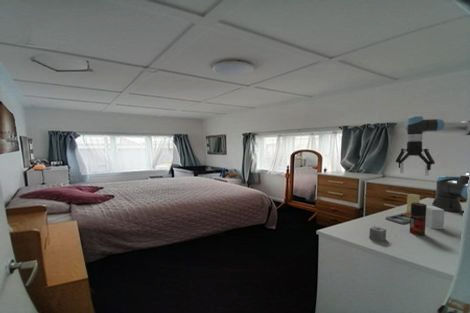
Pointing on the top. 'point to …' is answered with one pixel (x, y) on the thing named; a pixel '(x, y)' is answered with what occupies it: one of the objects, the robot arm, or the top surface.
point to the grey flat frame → (399, 218)
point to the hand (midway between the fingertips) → (413, 174)
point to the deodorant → (418, 219)
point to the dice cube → (377, 234)
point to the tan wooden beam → (411, 201)
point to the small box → (434, 217)
